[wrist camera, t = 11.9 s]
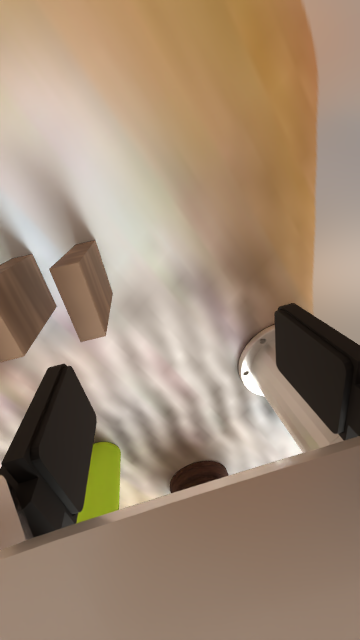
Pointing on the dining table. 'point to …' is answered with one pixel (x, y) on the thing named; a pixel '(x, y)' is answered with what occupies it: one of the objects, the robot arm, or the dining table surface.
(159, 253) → the dining table surface
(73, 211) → the dining table surface
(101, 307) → the domino
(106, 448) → the soap dispenser
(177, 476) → the black ball on stand
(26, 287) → the domino
